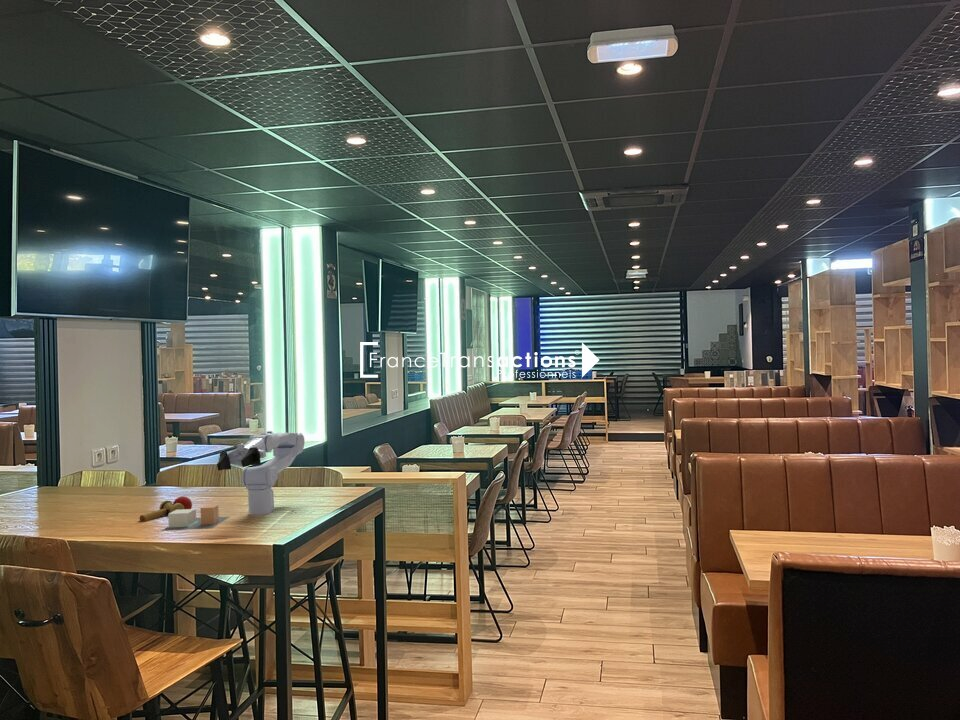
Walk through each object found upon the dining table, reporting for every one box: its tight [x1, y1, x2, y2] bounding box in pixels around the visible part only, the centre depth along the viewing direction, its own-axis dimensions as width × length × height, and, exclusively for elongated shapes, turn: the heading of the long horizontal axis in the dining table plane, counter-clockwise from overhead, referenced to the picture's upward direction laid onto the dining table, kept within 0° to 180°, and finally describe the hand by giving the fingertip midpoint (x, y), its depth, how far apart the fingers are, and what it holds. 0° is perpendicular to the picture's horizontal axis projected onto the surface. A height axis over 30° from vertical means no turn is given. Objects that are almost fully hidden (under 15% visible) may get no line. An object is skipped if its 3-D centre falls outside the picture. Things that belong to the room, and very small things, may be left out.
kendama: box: [139, 495, 193, 522], centre depth 237 cm, size 8×6×18 cm
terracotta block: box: [200, 504, 220, 524], centre depth 223 cm, size 4×4×5 cm
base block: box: [167, 508, 197, 527], centre depth 222 cm, size 6×6×4 cm
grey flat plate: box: [161, 516, 230, 531], centre depth 223 cm, size 16×15×1 cm
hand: (230, 465), depth 215 cm, fingers open, 7 cm apart
